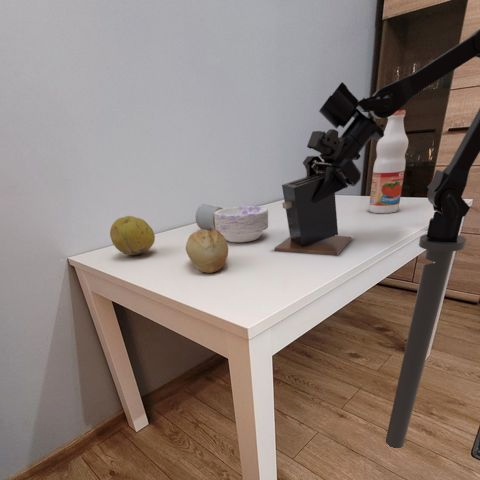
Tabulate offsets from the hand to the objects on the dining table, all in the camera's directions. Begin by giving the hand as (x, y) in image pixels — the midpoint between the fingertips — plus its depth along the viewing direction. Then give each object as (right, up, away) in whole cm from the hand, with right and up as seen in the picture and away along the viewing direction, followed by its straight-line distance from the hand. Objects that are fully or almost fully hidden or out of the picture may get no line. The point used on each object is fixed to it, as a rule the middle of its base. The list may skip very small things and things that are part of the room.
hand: (306, 199), depth 82 cm
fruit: (-44, -10, +11) cm, 47 cm away
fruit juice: (+33, +11, +33) cm, 48 cm away
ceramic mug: (-24, +3, +30) cm, 39 cm away
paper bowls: (-15, -4, +17) cm, 23 cm away
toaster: (+3, -7, +6) cm, 10 cm away
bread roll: (-23, -16, -1) cm, 29 cm away
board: (+3, -9, +6) cm, 11 cm away
